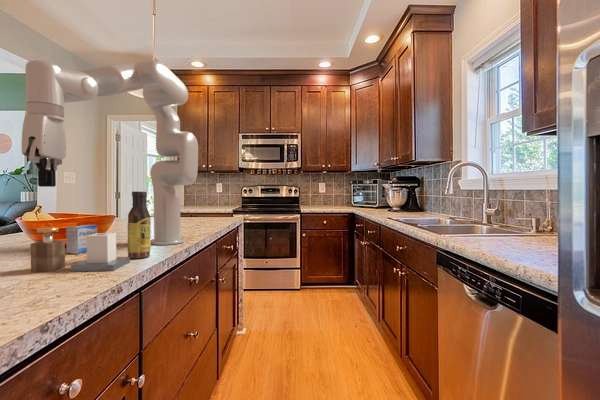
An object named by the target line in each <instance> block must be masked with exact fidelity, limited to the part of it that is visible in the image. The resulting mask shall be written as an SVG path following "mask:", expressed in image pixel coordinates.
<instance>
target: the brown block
mask: <svg viewBox="0 0 600 400" xmlns="http://www.w3.org/2000/svg"><path fill="white" fill-rule="evenodd" d="M65 241H66V240H54V239H53V242H51V243H43V240H42V241H37V242H32V243H30V273H49V272H51V273H52V272H55V271H57V270H61V269H63V268H65V267H66V247H65V245H66V244H65V243H66V242H65Z"/></svg>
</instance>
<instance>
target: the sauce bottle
mask: <svg viewBox="0 0 600 400" xmlns="http://www.w3.org/2000/svg"><path fill="white" fill-rule="evenodd" d="M147 194H148V193H147V191H138V190H137V191H131V197H132V207H131V208H130V211H129V212H128V215H127V253H128V254H127V257H130V260H132V259H133V260H134V259H135V260H136V259H145V258H146V259H147V258H149V257H150V255H151V249H152V247H151V246H152V244H151V240H152V239H151V237H152V236H151V235H152V233H151V231H152V230H151V223H152V222H151V221H152V220H151V215H150V212H149V209H148V207H147V196H148V195H147Z"/></svg>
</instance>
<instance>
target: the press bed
mask: <svg viewBox="0 0 600 400" xmlns="http://www.w3.org/2000/svg"><path fill="white" fill-rule="evenodd" d="M130 263H131V258H130V257H128V256H116V259H115V260H113V261H110V262H108V263H87V259H84V260H82V261H79V262H76V263H74V264H72V265H70V272H71V271H76V272H109V271H110V272H112V271H116V270H117V269H119V268H121V267H124V266H125V265H128V264H130Z"/></svg>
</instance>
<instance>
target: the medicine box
mask: <svg viewBox="0 0 600 400" xmlns="http://www.w3.org/2000/svg"><path fill="white" fill-rule="evenodd" d="M65 231H66V232H65V235H66V237H65V238H66V240H65V241H66V254H67V253H71V255H81V254H80V253H82V254H86V253H87V236H88V235H92V234H96V233H98V225H97V224H83V225H75V226H66V227H65ZM85 252H86V253H85Z"/></svg>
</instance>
